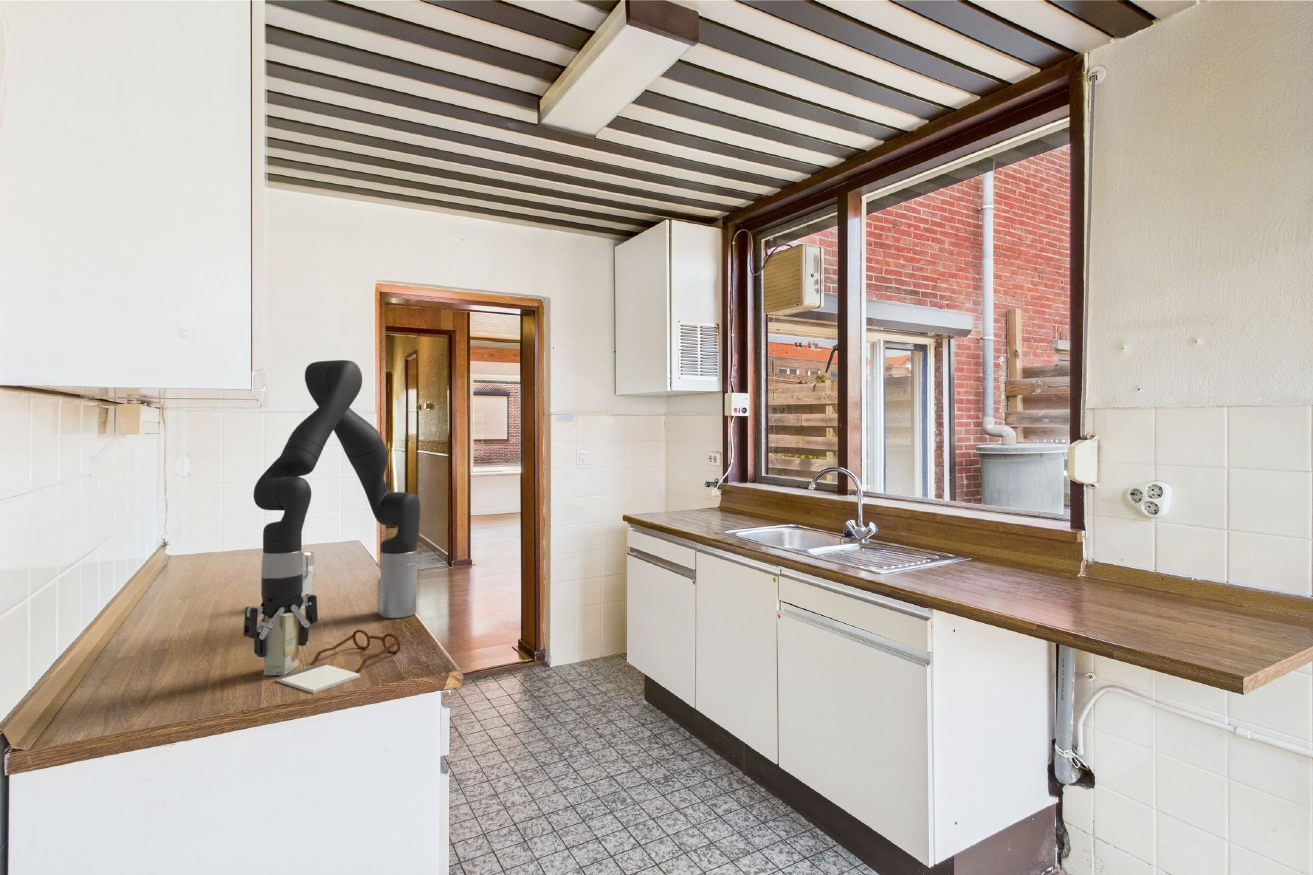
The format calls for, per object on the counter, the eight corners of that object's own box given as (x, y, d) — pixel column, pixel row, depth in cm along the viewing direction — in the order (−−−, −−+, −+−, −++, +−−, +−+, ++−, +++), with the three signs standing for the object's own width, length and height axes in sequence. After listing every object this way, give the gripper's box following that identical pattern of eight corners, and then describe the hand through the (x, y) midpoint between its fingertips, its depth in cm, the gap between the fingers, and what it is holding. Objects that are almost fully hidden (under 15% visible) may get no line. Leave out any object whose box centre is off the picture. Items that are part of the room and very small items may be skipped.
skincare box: (285, 676, 137) (285, 615, 137) (262, 676, 137) (263, 616, 137) (299, 665, 144) (300, 607, 143) (278, 665, 143) (279, 607, 143)
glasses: (401, 655, 152) (401, 633, 152) (358, 674, 139) (358, 650, 139) (355, 648, 156) (355, 627, 156) (308, 667, 144) (309, 643, 144)
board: (276, 681, 134) (276, 677, 134) (323, 666, 143) (323, 663, 143) (313, 693, 128) (313, 689, 128) (360, 677, 137) (360, 673, 137)
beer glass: (306, 609, 188) (306, 556, 188) (281, 609, 188) (282, 555, 188) (319, 603, 195) (319, 551, 195) (295, 603, 195) (295, 551, 195)
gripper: (304, 565, 148) (303, 639, 148) (236, 576, 136) (236, 657, 136) (325, 568, 144) (324, 644, 144) (257, 581, 132) (257, 663, 132)
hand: (281, 650), depth 140 cm, fingers open, 8 cm apart
